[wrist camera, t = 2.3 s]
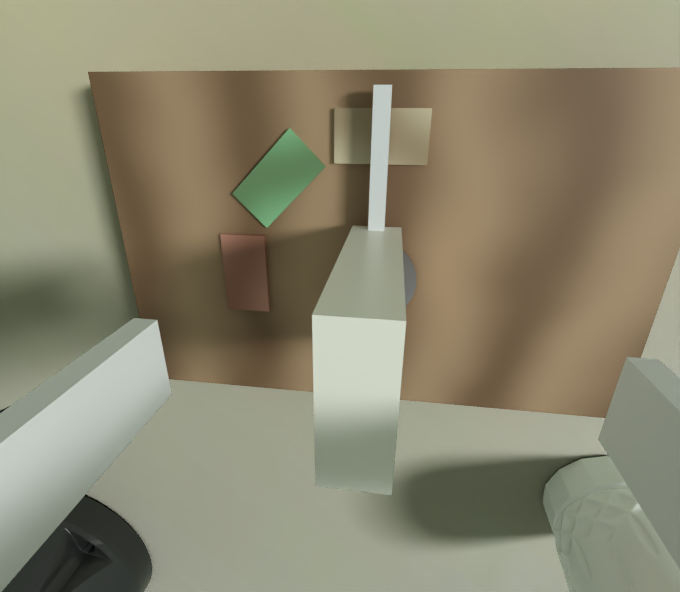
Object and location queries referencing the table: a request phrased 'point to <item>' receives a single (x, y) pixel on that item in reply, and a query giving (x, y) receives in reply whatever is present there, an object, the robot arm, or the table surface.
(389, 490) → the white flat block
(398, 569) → the table surface
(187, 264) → the wooden cutting board
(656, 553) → the white cup
